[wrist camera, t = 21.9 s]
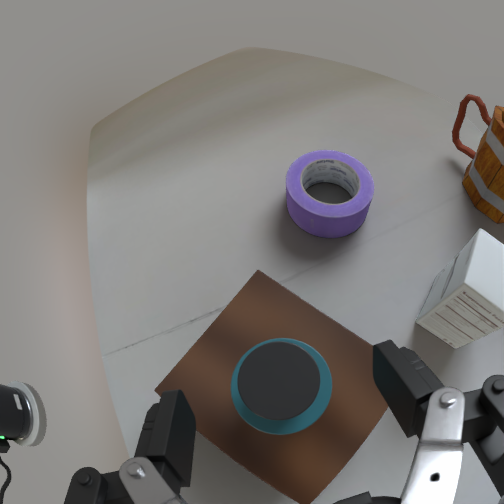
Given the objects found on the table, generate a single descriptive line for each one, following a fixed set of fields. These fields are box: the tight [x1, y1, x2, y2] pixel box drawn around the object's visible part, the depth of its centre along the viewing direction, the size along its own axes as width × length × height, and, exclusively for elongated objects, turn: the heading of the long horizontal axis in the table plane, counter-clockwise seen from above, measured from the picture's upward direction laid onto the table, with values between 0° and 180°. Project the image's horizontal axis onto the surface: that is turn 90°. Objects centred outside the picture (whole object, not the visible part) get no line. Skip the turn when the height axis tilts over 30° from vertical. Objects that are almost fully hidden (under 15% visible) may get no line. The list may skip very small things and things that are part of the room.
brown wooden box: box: [154, 270, 388, 504], centre depth 25 cm, size 14×16×10 cm
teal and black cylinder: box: [231, 338, 332, 435], centre depth 16 cm, size 6×6×12 cm
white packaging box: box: [416, 228, 504, 349], centre depth 26 cm, size 7×7×13 cm
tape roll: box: [286, 150, 374, 238], centre depth 39 cm, size 12×12×5 cm
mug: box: [452, 94, 504, 223], centre depth 34 cm, size 20×14×15 cm
